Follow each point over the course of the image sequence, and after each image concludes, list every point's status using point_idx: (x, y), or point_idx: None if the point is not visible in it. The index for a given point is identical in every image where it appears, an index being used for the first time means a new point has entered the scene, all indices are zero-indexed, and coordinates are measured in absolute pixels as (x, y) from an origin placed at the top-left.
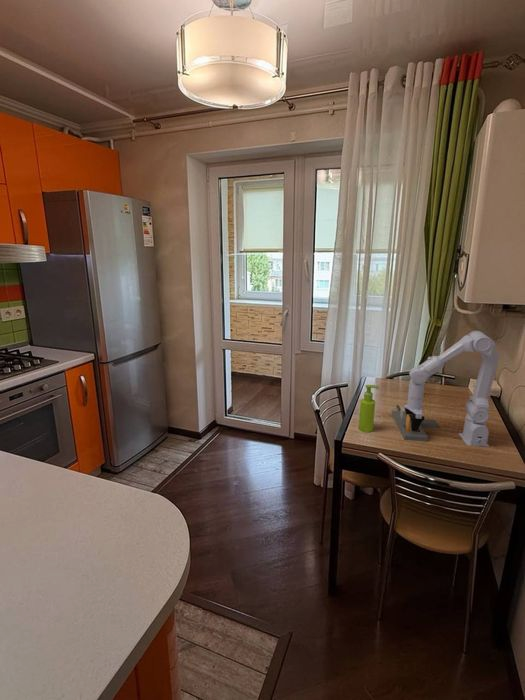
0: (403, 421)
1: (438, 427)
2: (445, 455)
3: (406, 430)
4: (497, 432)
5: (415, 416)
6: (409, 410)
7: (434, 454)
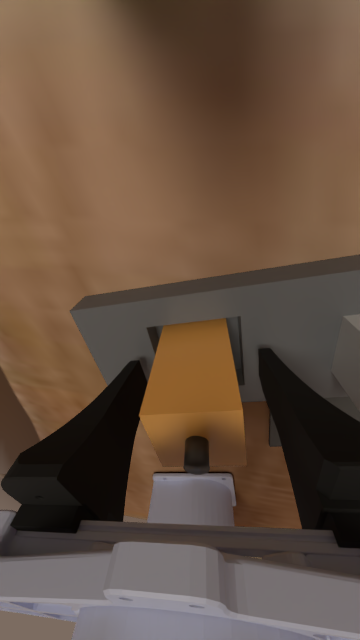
0: (305, 322)
1: (275, 441)
2: (51, 418)
3: (192, 322)
4: (262, 526)
5: (32, 512)
6: (302, 459)
7: (34, 393)
